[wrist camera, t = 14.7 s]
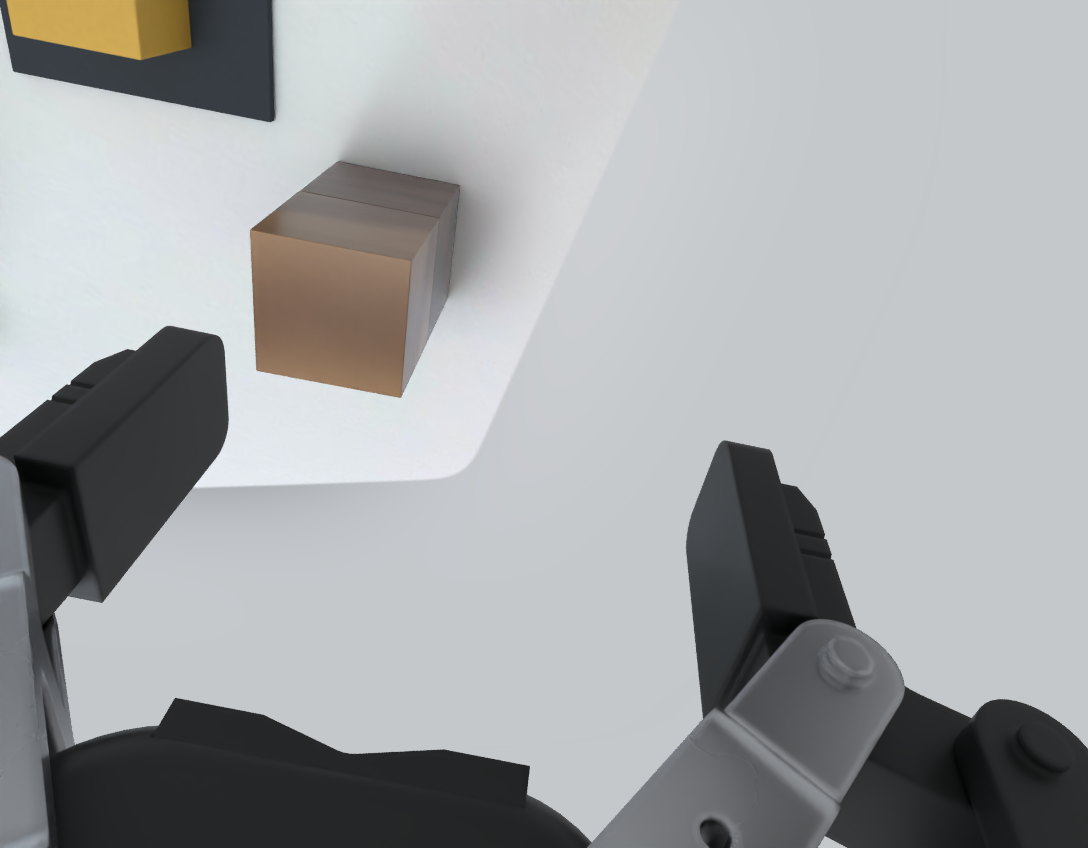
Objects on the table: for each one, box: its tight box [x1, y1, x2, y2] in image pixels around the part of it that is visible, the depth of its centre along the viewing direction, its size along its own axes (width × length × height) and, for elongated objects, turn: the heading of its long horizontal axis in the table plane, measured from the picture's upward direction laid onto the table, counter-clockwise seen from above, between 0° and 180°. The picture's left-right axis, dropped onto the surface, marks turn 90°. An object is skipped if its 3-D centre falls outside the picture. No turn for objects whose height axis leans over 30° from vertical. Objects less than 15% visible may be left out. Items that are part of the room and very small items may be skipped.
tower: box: [250, 162, 460, 398], centre depth 39 cm, size 7×7×12 cm
